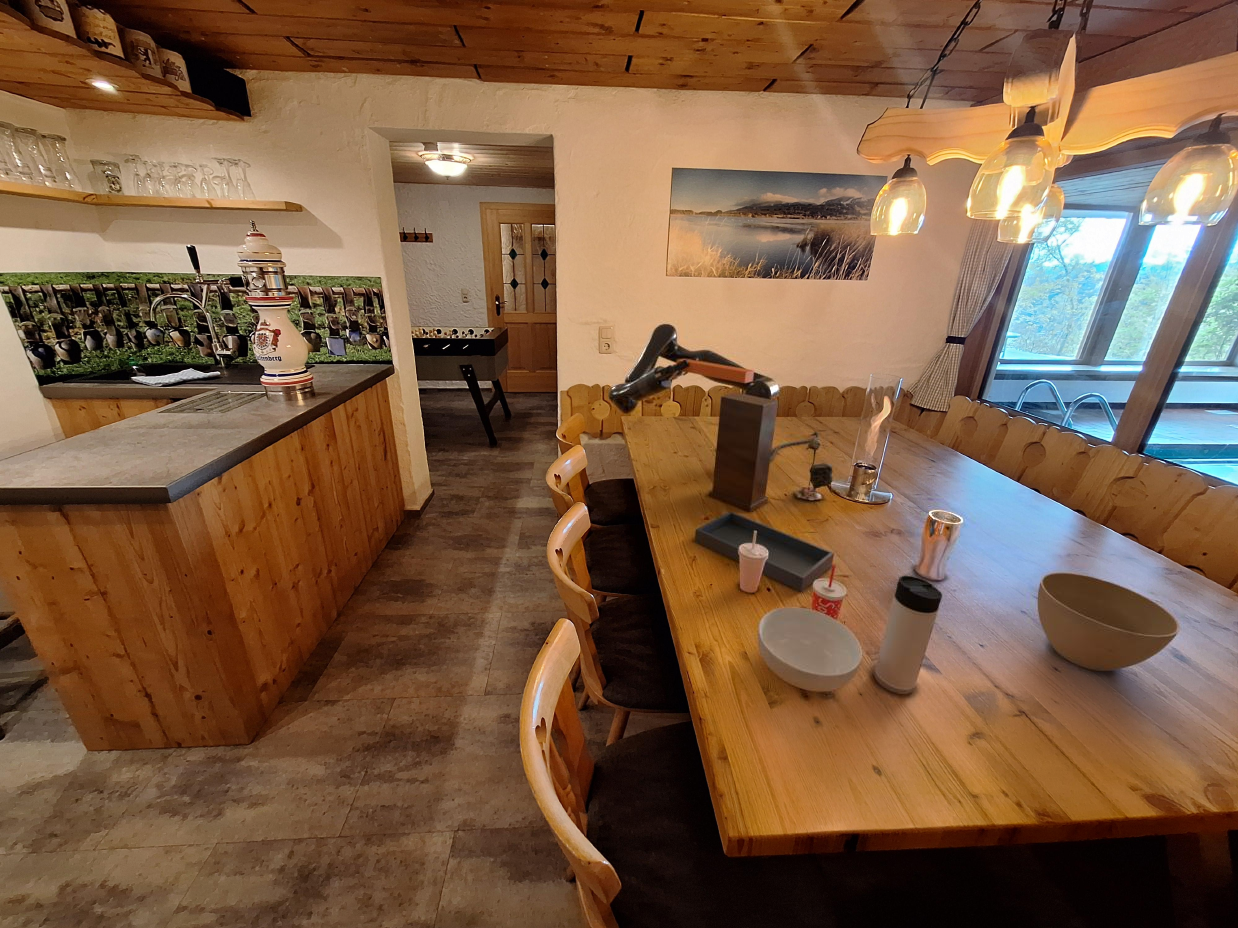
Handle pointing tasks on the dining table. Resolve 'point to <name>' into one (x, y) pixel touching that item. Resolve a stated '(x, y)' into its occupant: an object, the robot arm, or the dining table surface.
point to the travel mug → (907, 634)
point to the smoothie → (751, 564)
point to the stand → (743, 450)
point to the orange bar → (719, 371)
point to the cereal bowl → (808, 648)
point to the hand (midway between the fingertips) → (692, 361)
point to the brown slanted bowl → (1101, 622)
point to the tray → (786, 553)
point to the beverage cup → (828, 596)
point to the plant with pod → (816, 476)
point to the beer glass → (938, 543)
